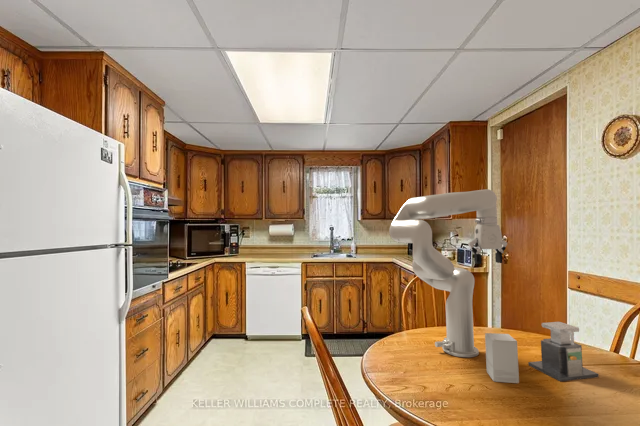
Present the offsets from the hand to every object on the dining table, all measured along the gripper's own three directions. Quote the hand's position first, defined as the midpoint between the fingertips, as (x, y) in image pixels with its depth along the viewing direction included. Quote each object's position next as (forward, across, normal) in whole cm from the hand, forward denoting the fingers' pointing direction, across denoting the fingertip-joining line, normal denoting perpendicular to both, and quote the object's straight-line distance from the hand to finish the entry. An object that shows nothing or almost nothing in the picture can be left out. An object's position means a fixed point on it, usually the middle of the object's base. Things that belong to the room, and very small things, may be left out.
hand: (488, 263), depth 135 cm
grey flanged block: (+27, +4, -29) cm, 40 cm away
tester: (+32, +4, -28) cm, 43 cm away
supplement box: (+33, -18, -28) cm, 47 cm away
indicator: (+26, +2, -34) cm, 43 cm away
